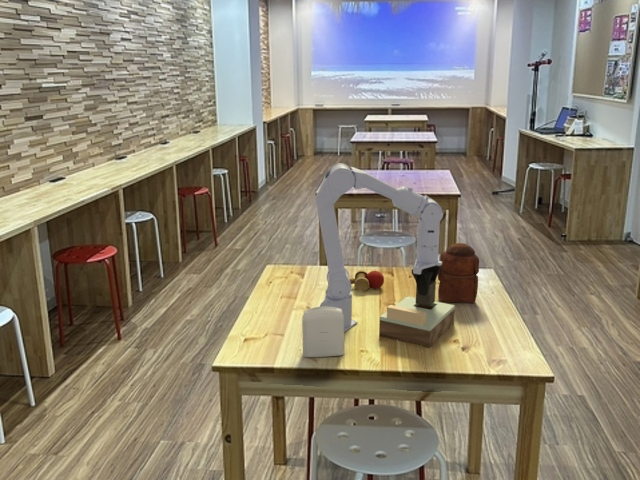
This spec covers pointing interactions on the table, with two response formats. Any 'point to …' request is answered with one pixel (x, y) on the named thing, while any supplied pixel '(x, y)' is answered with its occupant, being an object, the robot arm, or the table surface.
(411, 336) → the brown wooden box
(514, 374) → the table surface
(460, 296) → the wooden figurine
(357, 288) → the kendama
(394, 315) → the lid
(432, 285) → the dark brown block
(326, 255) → the robot arm
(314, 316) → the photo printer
